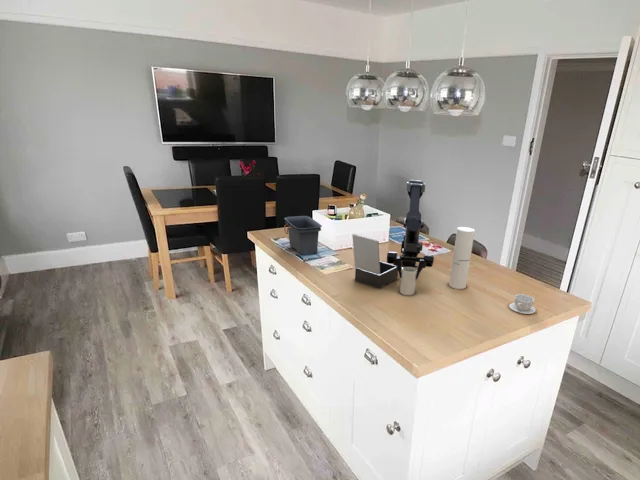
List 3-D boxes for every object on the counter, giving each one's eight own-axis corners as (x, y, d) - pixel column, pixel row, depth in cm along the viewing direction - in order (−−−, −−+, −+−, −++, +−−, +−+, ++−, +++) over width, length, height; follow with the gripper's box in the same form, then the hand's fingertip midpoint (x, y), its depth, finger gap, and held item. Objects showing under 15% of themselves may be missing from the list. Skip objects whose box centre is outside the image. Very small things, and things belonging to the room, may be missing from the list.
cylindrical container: (465, 289, 176) (474, 232, 166) (448, 287, 178) (456, 230, 167) (466, 283, 183) (475, 228, 172) (449, 281, 184) (457, 226, 173)
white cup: (411, 288, 173) (413, 266, 169) (416, 294, 168) (419, 271, 164) (397, 289, 171) (399, 267, 167) (402, 295, 166) (405, 272, 162)
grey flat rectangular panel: (353, 233, 167) (352, 234, 166) (378, 240, 161) (377, 241, 160) (356, 266, 175) (354, 267, 174) (380, 274, 169) (379, 274, 169)
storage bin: (324, 254, 205) (324, 226, 199) (294, 258, 197) (293, 228, 191) (308, 242, 221) (307, 215, 215) (279, 245, 213) (278, 217, 207)
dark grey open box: (374, 271, 188) (375, 259, 186) (397, 278, 183) (398, 266, 180) (354, 280, 177) (355, 267, 175) (378, 288, 171) (379, 275, 169)
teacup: (515, 301, 169) (517, 290, 167) (539, 309, 164) (541, 298, 162) (504, 308, 162) (507, 297, 160) (529, 317, 156) (532, 306, 154)
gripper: (388, 232, 164) (385, 268, 158) (436, 236, 163) (434, 272, 158) (388, 245, 174) (385, 279, 169) (433, 249, 174) (431, 283, 168)
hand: (408, 278), depth 166 cm, fingers closed on white cup, 6 cm apart
